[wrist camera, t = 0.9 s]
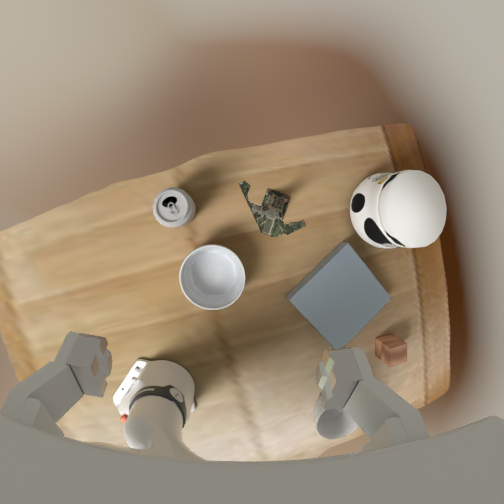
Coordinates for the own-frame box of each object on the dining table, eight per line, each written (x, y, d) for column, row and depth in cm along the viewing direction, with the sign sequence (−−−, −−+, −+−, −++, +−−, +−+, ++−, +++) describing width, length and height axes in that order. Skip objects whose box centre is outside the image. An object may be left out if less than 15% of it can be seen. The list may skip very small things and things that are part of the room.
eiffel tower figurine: (237, 183, 68) (241, 173, 55) (278, 164, 69) (291, 151, 56) (266, 244, 70) (277, 249, 57) (306, 225, 71) (326, 225, 58)
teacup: (349, 418, 76) (363, 438, 66) (300, 418, 75) (309, 440, 65) (362, 382, 76) (378, 399, 66) (311, 380, 74) (323, 399, 64)
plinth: (332, 346, 74) (337, 352, 70) (285, 296, 71) (288, 300, 67) (383, 295, 74) (391, 298, 70) (341, 241, 72) (348, 242, 68)
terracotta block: (391, 350, 76) (406, 361, 68) (375, 355, 75) (389, 367, 67) (391, 333, 75) (407, 343, 67) (375, 338, 75) (390, 348, 67)
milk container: (381, 162, 71) (422, 148, 53) (415, 219, 73) (461, 220, 56) (330, 201, 70) (365, 195, 53) (369, 261, 73) (411, 271, 55)
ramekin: (177, 295, 69) (173, 302, 62) (189, 236, 68) (186, 237, 61) (235, 307, 70) (237, 316, 63) (249, 249, 70) (252, 252, 63)
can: (189, 187, 67) (183, 179, 55) (201, 219, 68) (197, 218, 56) (157, 200, 66) (145, 195, 54) (169, 232, 67) (159, 233, 55)
